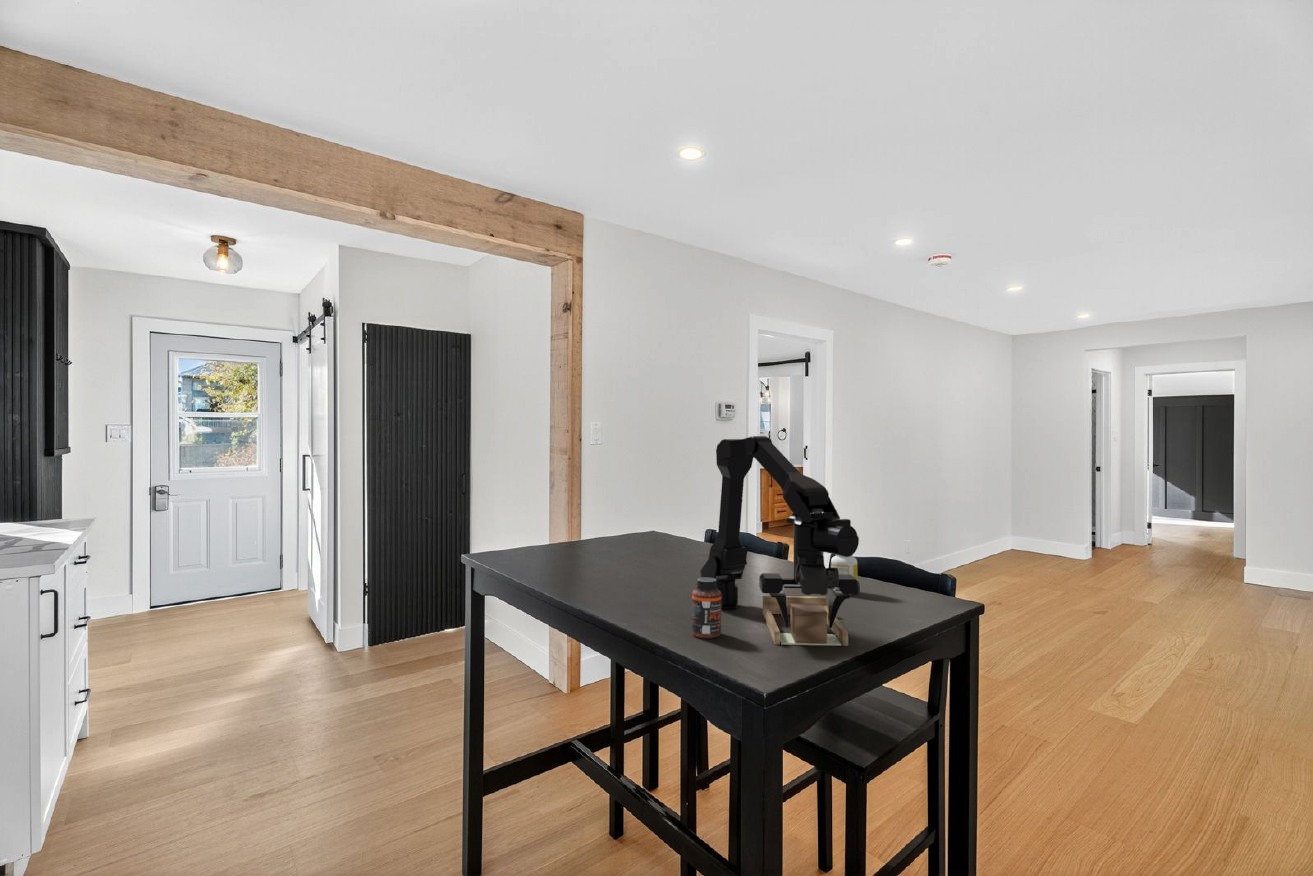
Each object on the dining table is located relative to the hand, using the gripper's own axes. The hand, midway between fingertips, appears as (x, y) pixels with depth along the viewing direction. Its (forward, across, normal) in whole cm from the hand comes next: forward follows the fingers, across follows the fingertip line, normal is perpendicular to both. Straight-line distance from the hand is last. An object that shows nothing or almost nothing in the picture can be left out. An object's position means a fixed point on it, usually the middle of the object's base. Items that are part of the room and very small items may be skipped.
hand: (808, 627), depth 122 cm
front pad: (+2, 0, 0) cm, 2 cm away
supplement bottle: (+3, -20, +2) cm, 20 cm away
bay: (+2, 0, +8) cm, 8 cm away
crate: (+2, 0, 0) cm, 2 cm away
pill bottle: (+3, +16, +38) cm, 41 cm away
